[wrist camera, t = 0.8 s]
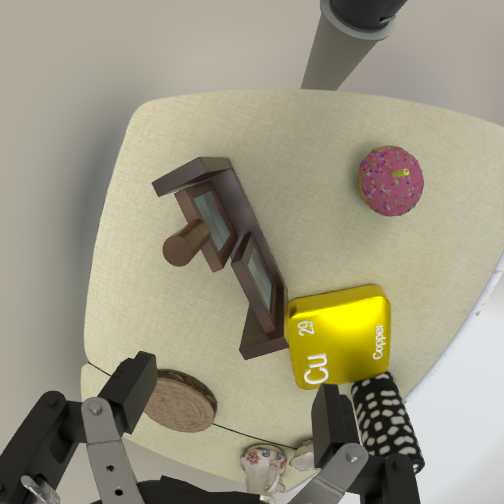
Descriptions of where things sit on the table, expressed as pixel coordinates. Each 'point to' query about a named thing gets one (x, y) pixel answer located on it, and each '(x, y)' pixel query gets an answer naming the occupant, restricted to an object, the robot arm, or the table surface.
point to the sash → (201, 229)
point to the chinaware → (272, 467)
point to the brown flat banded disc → (181, 402)
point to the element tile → (339, 336)
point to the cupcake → (390, 181)
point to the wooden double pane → (242, 254)
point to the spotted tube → (385, 420)
